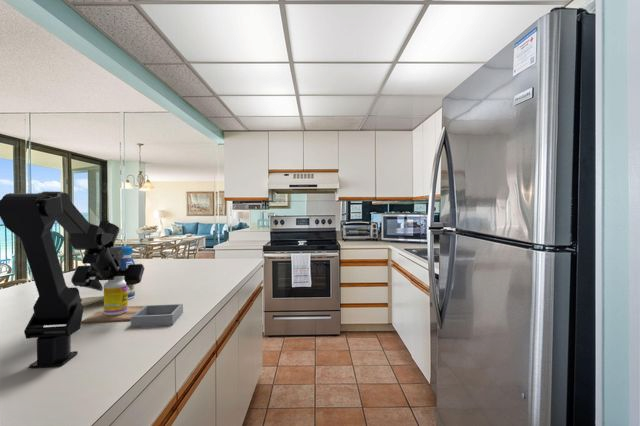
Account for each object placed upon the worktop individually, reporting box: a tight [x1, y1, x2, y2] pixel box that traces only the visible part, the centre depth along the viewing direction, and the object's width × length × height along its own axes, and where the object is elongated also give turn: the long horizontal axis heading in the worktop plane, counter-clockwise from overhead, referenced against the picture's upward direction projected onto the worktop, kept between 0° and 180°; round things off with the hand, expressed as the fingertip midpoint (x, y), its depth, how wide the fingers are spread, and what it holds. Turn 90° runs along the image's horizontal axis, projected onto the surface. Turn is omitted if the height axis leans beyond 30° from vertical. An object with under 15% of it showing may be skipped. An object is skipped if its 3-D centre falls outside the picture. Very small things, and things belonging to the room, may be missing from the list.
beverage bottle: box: [118, 245, 136, 300], centre depth 126 cm, size 8×8×20 cm
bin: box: [130, 303, 184, 328], centre depth 101 cm, size 12×12×3 cm
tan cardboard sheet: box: [81, 305, 145, 324], centre depth 106 cm, size 14×14×1 cm
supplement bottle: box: [103, 276, 129, 316], centre depth 106 cm, size 7×7×13 cm
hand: (117, 288), depth 106 cm, fingers open, 9 cm apart
